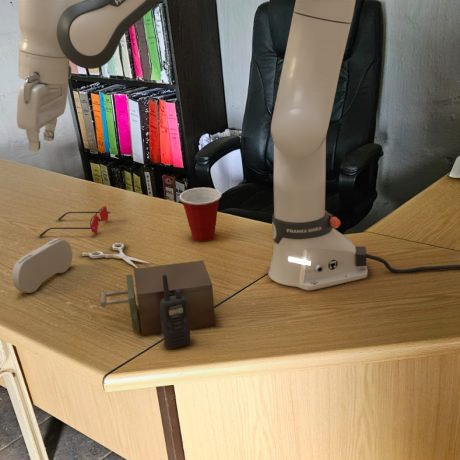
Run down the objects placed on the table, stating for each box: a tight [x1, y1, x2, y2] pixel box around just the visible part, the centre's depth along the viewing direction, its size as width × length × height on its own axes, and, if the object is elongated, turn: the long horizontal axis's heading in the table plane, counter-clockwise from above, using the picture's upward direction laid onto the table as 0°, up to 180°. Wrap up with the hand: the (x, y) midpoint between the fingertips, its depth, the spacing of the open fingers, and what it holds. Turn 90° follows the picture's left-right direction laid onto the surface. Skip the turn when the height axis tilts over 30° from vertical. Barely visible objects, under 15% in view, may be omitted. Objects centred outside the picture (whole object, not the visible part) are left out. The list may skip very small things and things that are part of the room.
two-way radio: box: [159, 274, 192, 350], centre depth 119 cm, size 6×4×15 cm
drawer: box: [99, 273, 140, 332], centre depth 129 cm, size 19×11×7 cm, turn 100°
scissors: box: [81, 242, 150, 269], centre depth 160 cm, size 11×1×20 cm
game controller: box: [11, 237, 73, 294], centre depth 150 cm, size 20×2×8 cm, turn 156°
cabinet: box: [133, 259, 216, 337], centre depth 130 cm, size 15×13×9 cm
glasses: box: [39, 205, 111, 238], centre depth 181 cm, size 14×16×5 cm
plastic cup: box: [179, 187, 222, 242], centre depth 167 cm, size 11×11×12 cm
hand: (41, 145), depth 126 cm, fingers open, 8 cm apart
